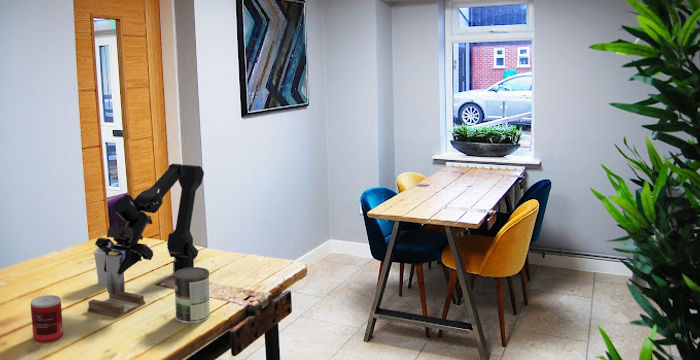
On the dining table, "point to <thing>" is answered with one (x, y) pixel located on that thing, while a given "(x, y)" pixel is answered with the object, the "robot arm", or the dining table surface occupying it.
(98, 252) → the cup
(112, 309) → the cradle
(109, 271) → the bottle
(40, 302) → the canned food
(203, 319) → the coffee can
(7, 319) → the dining table surface
